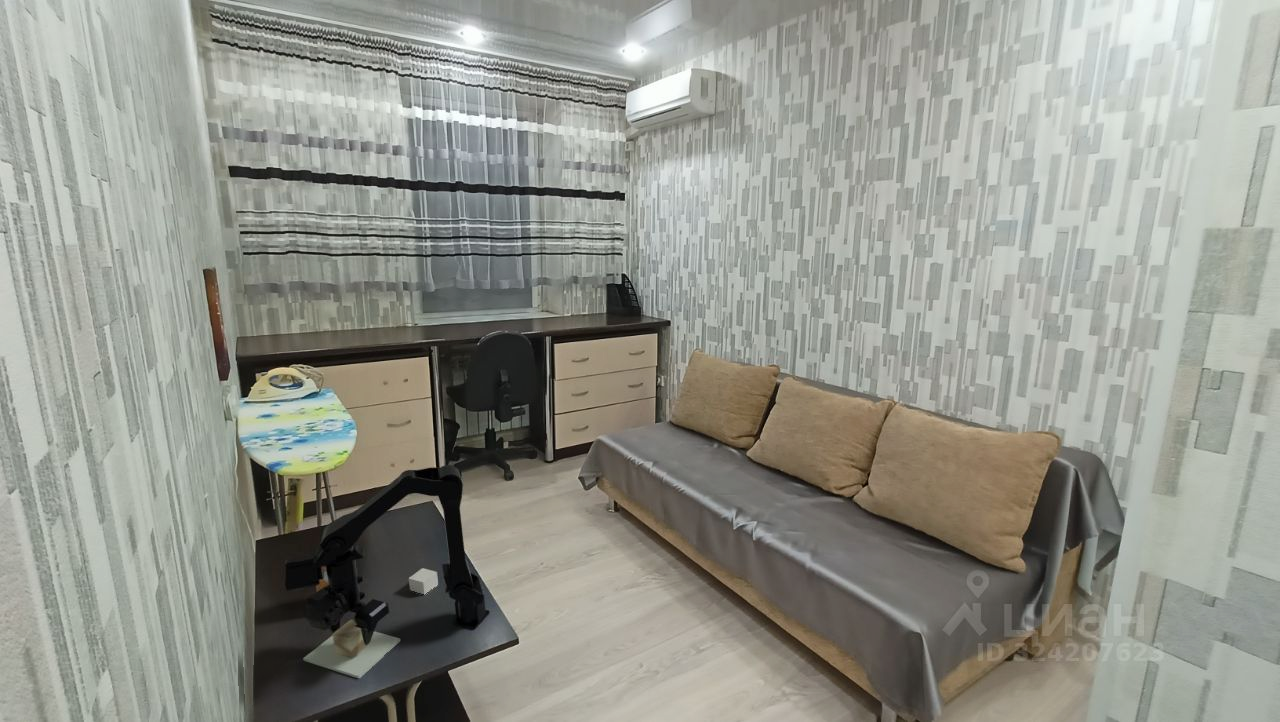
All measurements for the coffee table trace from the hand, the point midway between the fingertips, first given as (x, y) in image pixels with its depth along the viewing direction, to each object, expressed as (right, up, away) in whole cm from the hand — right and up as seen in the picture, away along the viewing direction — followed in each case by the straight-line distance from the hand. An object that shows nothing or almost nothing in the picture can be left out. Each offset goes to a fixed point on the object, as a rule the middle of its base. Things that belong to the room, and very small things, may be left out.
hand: (351, 639), depth 126 cm
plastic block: (+7, +2, +23) cm, 24 cm away
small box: (-13, 0, +18) cm, 22 cm away
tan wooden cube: (0, -2, +1) cm, 2 cm away
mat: (0, -3, +1) cm, 3 cm away
